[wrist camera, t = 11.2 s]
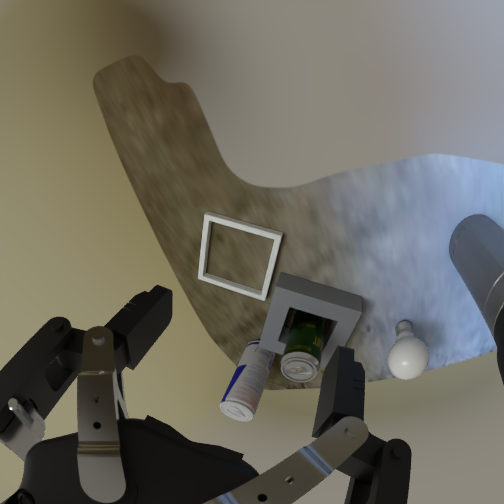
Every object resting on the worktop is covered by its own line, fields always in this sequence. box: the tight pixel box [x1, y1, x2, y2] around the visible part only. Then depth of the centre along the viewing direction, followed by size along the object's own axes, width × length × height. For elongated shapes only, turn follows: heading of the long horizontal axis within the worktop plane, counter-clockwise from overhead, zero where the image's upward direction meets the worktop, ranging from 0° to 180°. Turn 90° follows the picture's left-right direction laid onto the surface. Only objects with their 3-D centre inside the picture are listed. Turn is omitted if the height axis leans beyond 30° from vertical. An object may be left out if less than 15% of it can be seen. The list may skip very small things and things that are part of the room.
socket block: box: [258, 272, 362, 367], centre depth 44 cm, size 13×13×4 cm
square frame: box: [198, 212, 283, 301], centre depth 44 cm, size 12×12×1 cm
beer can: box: [281, 310, 327, 382], centre depth 41 cm, size 5×5×12 cm
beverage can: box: [220, 340, 275, 421], centre depth 46 cm, size 6×6×15 cm
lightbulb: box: [388, 321, 429, 380], centre depth 37 cm, size 6×6×11 cm
